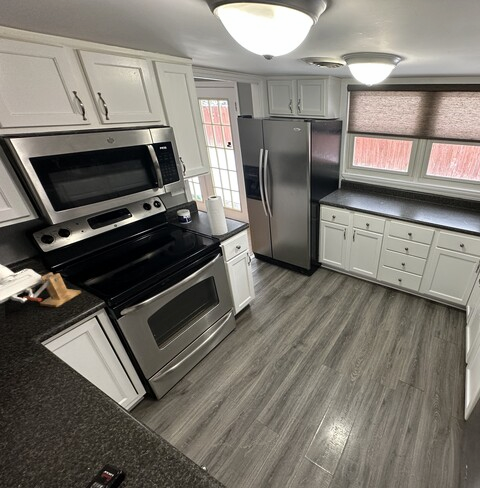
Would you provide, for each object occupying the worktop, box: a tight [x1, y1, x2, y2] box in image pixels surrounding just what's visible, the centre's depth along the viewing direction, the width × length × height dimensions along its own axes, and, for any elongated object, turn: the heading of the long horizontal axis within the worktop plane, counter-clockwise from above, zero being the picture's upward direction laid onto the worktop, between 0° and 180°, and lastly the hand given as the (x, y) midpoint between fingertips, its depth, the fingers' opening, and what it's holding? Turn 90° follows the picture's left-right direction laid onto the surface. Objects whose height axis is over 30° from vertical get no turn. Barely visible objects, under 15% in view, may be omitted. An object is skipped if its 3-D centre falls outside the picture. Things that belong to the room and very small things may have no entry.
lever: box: [23, 274, 54, 302], centre depth 123 cm, size 13×8×2 cm, turn 172°
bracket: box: [39, 272, 82, 308], centre depth 128 cm, size 12×9×14 cm
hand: (29, 299), depth 120 cm, fingers closed
